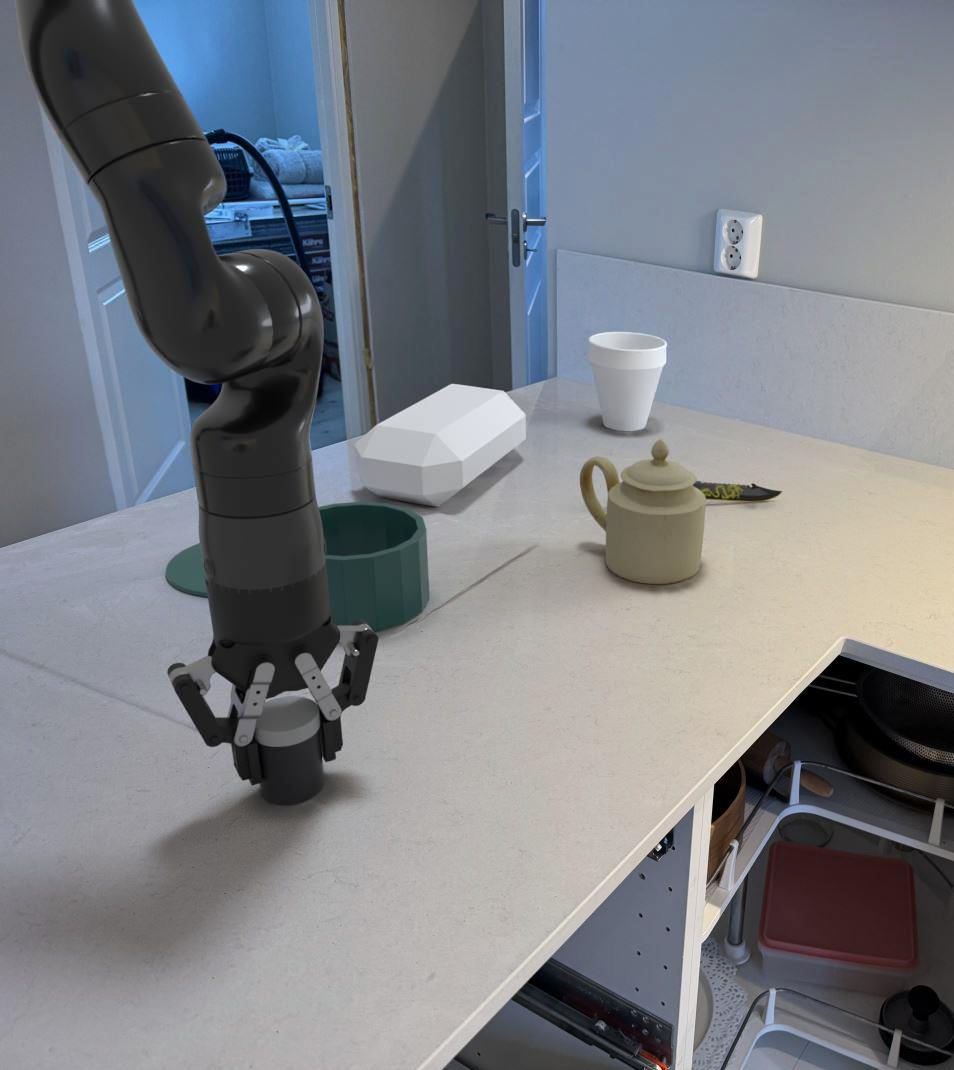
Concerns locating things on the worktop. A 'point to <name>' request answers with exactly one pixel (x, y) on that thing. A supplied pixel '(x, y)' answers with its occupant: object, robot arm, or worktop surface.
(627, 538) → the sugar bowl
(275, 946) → the worktop surface
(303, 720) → the black jar
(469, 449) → the crystal
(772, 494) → the knife
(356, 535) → the pot
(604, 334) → the cup
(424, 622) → the worktop surface
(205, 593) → the lid
